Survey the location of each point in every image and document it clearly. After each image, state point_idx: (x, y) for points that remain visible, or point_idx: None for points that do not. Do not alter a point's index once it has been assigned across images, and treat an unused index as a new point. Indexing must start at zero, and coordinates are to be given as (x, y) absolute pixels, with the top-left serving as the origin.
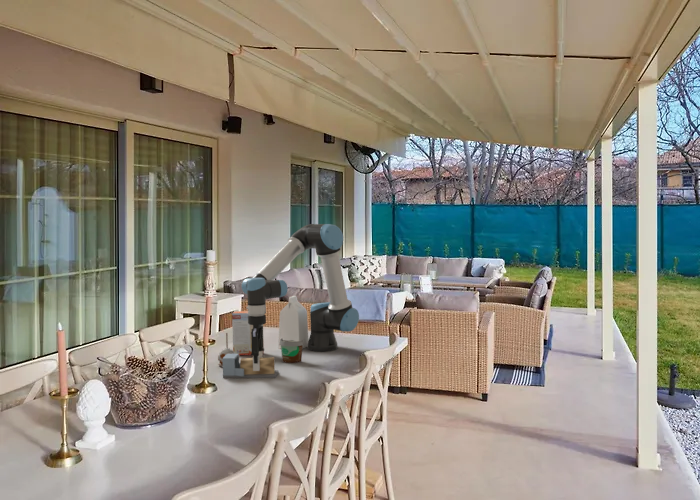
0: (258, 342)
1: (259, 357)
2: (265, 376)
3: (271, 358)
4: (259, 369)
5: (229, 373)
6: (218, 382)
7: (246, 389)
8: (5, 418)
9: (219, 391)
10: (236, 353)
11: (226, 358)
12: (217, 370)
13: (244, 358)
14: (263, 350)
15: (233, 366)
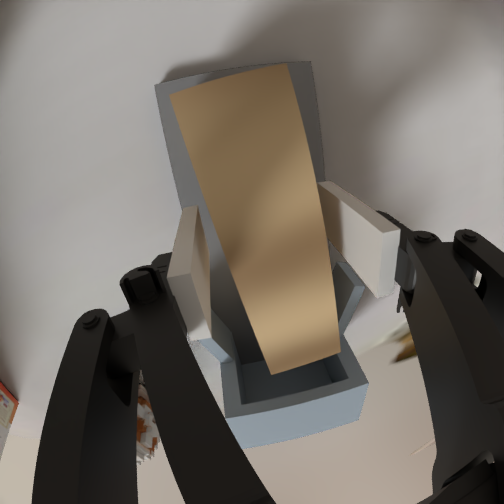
0: (502, 345)
1: (369, 221)
2: (317, 128)
3: (235, 107)
4: (331, 183)
5: None
6: (388, 325)
7: (481, 176)
8: None
9: None
10: (10, 400)
11: (360, 408)
12: None
13: (276, 357)
14: (159, 272)
15: (347, 348)
